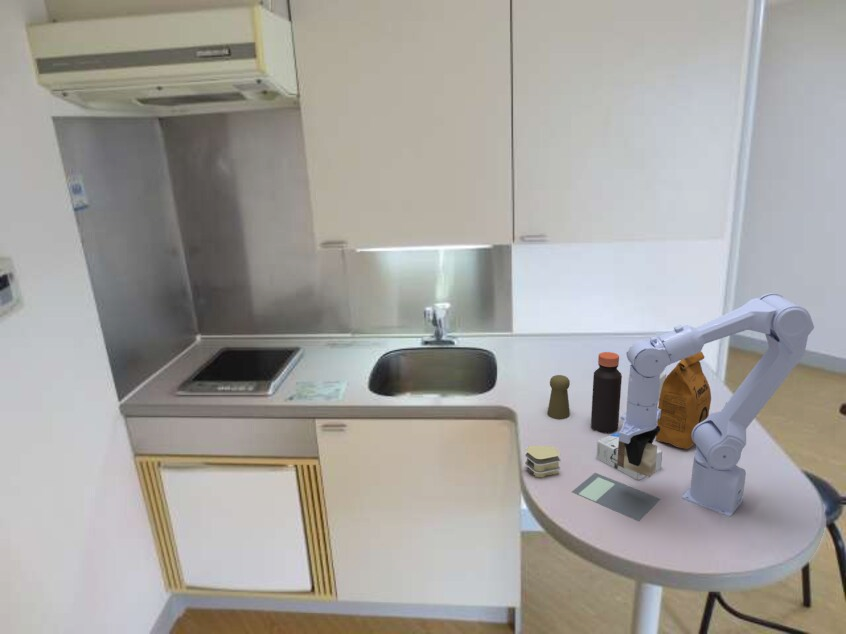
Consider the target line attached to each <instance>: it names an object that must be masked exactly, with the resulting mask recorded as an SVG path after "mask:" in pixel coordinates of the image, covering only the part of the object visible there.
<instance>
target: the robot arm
mask: <svg viewBox="0 0 846 634" xmlns="http://www.w3.org/2000/svg"><path fill="white" fill-rule="evenodd" d="M814 329H815V325H814V323H813V320H812V316H811V314H810V312H809V311H808V310H807V309H806V307H803V306H800V305H797V304H796V303H794V302H792V301H790V300H789V299H786V298H785V297H784V296H783V295H781V294H778V293H775V292H772V293H766V294H763V295H761V296H759V297H755V298H752V299H749V300H748V301H747V302H746V303H744V305H742V306H740V307H738V308H736V309H733V310H731V311H729V312H727V313H724V314H722V315H721V316H718V317H717V318H714V319H712V320H710V321H708V322H706V323H703V324H702V325H699V326H697V327H694V326H691V325H684V326H682V324H678V325H676V326H674V327H673V330H671V331H668V332H665V333H663V334H662V335H658V336H655V335H654V336H651V337H650V338H649V340H647V339H646V340H645V339H640V340H637V341H635V342H633V343H632V344H631V346H630V347H629V348H628V351H626V352H625V353H626V357H627V360H628V362H629V363H630V365H629V376H628V381H627V383H628V387H627V400H626V410H625V411H626V412H625V413H623V414H621V415H620V417H619V420H622V421H623V425H622V427H621V429H620V432H619V431H618V432H619V441H621V442H623V443H624V445H625V448H626V452H627V456H628V461H629V463H630V464H633V465H636V466H639V465H640V463H641V460H642V456H643V451H644V448H645V446H646V444H647V443H650V444H653V443H654V440H656V435H657V434H658V433H659V431H660V427H659V426H657V422H658V419H659V418H660V416H661V409H658V406H659V400H658V395H659V383H660V380H659V379H660V374H661V373H662V372H664V371H665V370H666V368H667V367H668V366H670V365H671V364H674V363H677V362H680V361H681V360H682V359H685V358H687V357H690V356H692V355H695V354H697V353H700V352H702V350H703V347H704V346H705V345H706V344H709V343H712V342H714V341H718V340H721V339H725V338H726V337H729V336H733V335H735V334H739V333H741V332H744V331H747V330H748V331H752V332H756V333H760V334H765V335H764V336H765V338H766V341H767V345H768V348H767V350H766V351H765V352H764V354H763V355H762V357H760V359H759V360H758V362H757V363H756V364H755V366H754V367H753V368H752V370H751V371H750V372H749V373H748V374H747V376H746V377H745V379H744V380H743V381H742V383H741V384H740V385H739V387H737V389H736V390H735V392H734V393H733V394H732V395H731V397H730V398H729V400H728V401H727V402H726V404H725V405H724V407H723V408H722V409H721V410H720V411H715V412H711V413H709V416H708V417H707V418H706V419H705V420H704V421H702V422H700V423H699V424H697V425H696V426H695V427H694V429H693V431H692V440H693V442H694V443H695V444H694V445H695V446H696V447H695V451H694V452H693V453H694V455H693V462H692V463H693V464H692V470H691V471H692V472H691V480H690V487H689V488H688V489H687V491H685V493H683V495H682V496H681V498H682V500H685V501H687V502H691V503H692V504H696V505H698V506H701V507H703V508H706V509H708V510H710V511H713V512H716V513H719V514H721V515H724V516H727V517H732V516H733V514H734V513H735V511H736V510H737V509H738V507H739V506H740V505H741V503H742V502H743V501H744V489H745V483H746V474H747V473H746V469H744V468H742V467H741V466H738V465H737V464H738V463H739V462H740V460H741V455H742V451H743V449H744V448H745V447H746V446H747V428H748V427H749V426H750V425H751V424H752V422H753V421H754V420H755V419H756V417H757V415H759V413H760V412H761V411H762V409H764V408H765V405H766V404H767V403H768V402H769V401H770V399H771V398H772V396H774V394H775V393H776V392H777V390H778V389H779V388H780V386H781V385H782V384H783V383H784V382H785V380H786V379H787V378H788V376H789V375H790V374H791V373H792V371H793V370H794V368H795V367H796V366H797V365H798V364H799V362H800V361H801V360H802V359H803V357H804V356H805V353H806V349H807V343H808V338H809V335H810V334H811V333H812V331H813V330H814Z"/></svg>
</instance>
